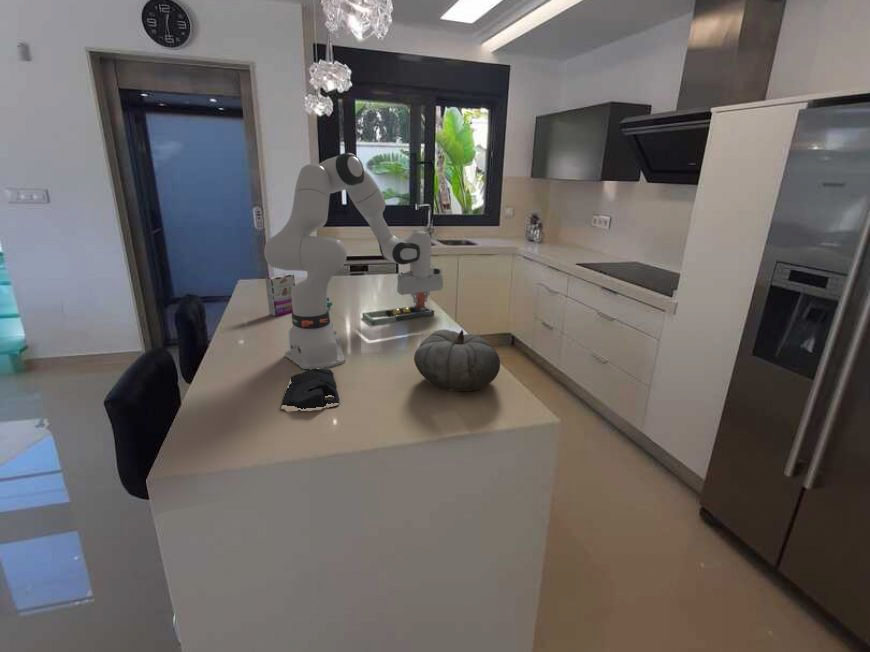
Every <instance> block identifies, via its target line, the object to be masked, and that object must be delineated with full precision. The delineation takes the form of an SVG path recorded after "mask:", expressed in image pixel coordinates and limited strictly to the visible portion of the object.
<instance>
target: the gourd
mask: <svg viewBox="0 0 870 652" xmlns="http://www.w3.org/2000/svg"><path fill="white" fill-rule="evenodd" d="M464 333H465V332H464V330H463V329H461V330H460V332H457V331H454V330H449V329H446V328H445V329H444V328H443V329H437V330H435V331H433V332H432V333H431V334H429V336H427V337H426V338H424V339H423V340H422V341H421V343H420V345H419V346H418V348H417V349H416V351H415V352H414V355H413V361H414V365H415V366H416V369H417V371H418V372H419V374H421V375H422V377H423V378H424V379H425V380H427V381H428V382H429V383H430V384H431V385H433V387H436V388H438V389H440V390H443V391H446V392H448V391H456V392H465V391H468V392H469V391H478V390H481V389H484V388H485V387H488V385H489V384H491V383H492V382H493V381H494V380H495V379H496V378H497V376H498V374H499V372H500V369H501V359H500V356H499V354H498V353H497V350H496V348H495V347H494V346H493V344H492V343H491V342H489V341H488V340H487V339H486V338H484V337H481V336H479V335H477V334H472V333H471V334H469V333H468V334H467V333H465V334H464Z"/></svg>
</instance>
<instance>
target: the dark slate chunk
mask: <svg viewBox="0 0 870 652" xmlns="http://www.w3.org/2000/svg"><path fill="white" fill-rule="evenodd" d="M290 378H291V382H292V383H291V384H290V385H289V388H287V390H286V389H285V390H286V393H285V392H284V393H285V396H284V395H283V397H284V400H283V399H282V401H283V403H282V402H281V405H287V406H295V407H297V408H301V409H303V408H304V409H306V408H316V407H324V406H326V404H327V403H328V404H331V403H333V404H334V403H339V404H340V400H341V399H340V397H339V393H338V390H337V389H338V388H337V387H338V386H337V382H336V379H335V377H334V372H333V370H331V369H329V368H327V369H326V368H322V369H311V370H304V372H301V373H297V374H293V375H291V376H290ZM328 395H332V396H334V398H326V399H324V398H325V396H328Z"/></svg>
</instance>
